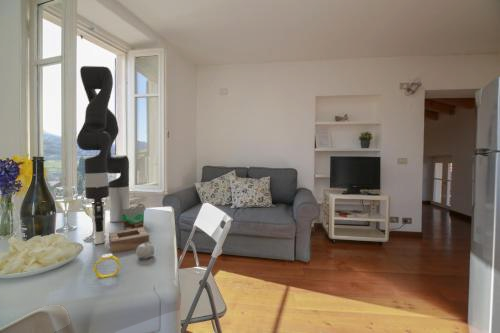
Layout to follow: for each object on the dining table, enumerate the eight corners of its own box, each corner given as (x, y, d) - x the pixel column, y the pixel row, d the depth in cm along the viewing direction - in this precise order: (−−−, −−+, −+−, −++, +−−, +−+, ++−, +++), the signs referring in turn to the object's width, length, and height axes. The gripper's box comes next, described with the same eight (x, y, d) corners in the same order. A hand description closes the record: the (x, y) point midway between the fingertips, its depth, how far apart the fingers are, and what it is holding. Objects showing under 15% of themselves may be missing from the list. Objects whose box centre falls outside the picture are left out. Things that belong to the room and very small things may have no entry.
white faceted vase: (96, 245, 89) (94, 204, 88) (90, 243, 91) (88, 203, 90) (109, 241, 93) (107, 202, 92) (103, 239, 95) (101, 201, 94)
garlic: (159, 255, 79) (158, 240, 79) (145, 262, 75) (144, 246, 74) (146, 252, 82) (145, 237, 82) (132, 259, 77) (131, 243, 77)
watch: (120, 273, 69) (120, 252, 69) (118, 277, 66) (119, 256, 66) (95, 275, 67) (96, 254, 66) (93, 280, 64) (93, 258, 64)
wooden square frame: (109, 243, 92) (108, 232, 92) (143, 236, 98) (142, 226, 98) (111, 253, 82) (111, 242, 82) (149, 245, 88) (148, 234, 88)
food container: (134, 232, 103) (133, 209, 103) (122, 232, 105) (121, 209, 104) (151, 224, 115) (151, 203, 115) (140, 224, 117) (139, 203, 116)
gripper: (85, 183, 95) (87, 226, 96) (84, 188, 83) (87, 237, 84) (107, 182, 99) (109, 223, 100) (109, 186, 87) (112, 232, 88)
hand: (99, 229), depth 92 cm, fingers closed on white faceted vase, 4 cm apart
